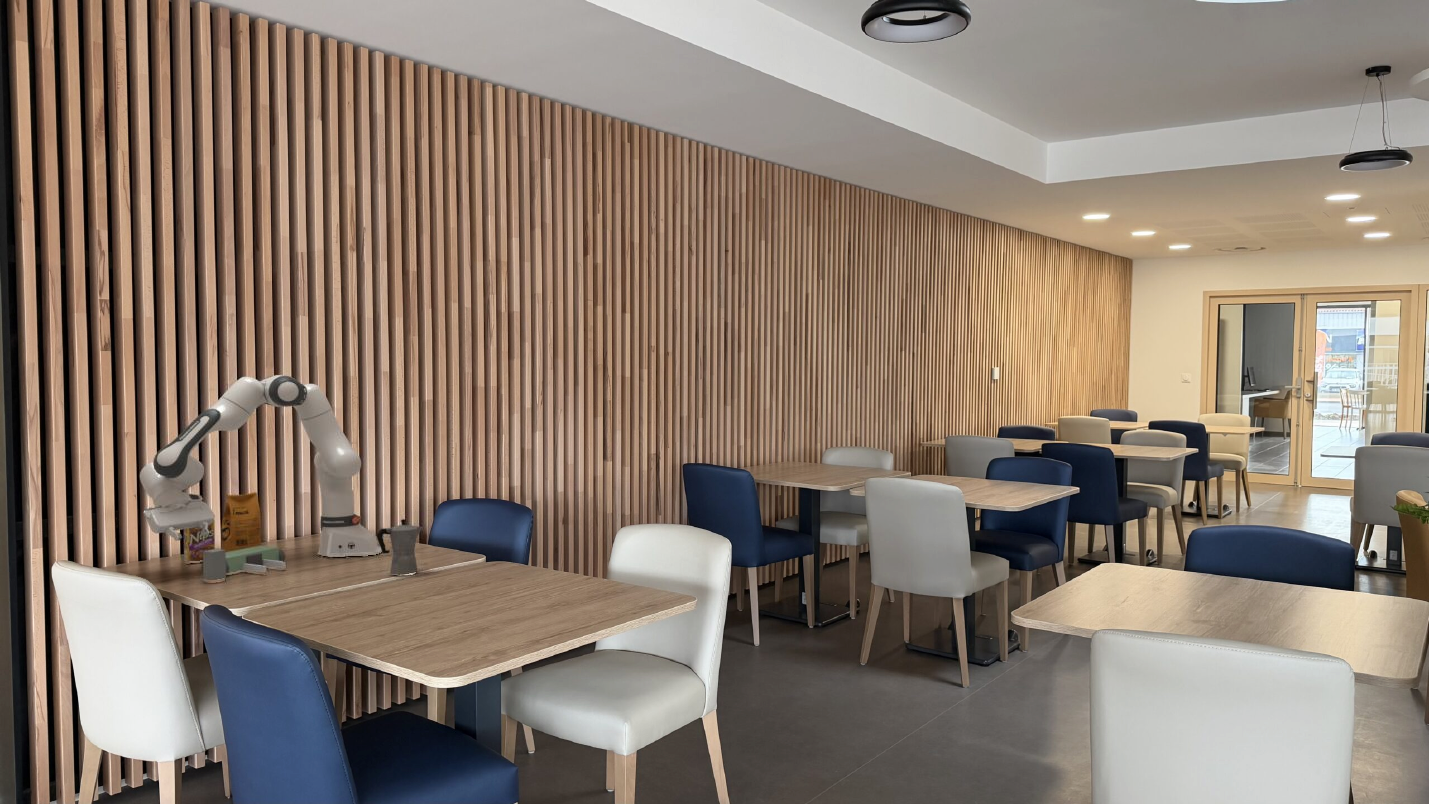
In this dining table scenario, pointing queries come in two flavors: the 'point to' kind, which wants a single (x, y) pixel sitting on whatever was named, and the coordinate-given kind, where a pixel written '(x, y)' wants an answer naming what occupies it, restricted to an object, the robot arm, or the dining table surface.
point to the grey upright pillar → (214, 564)
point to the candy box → (198, 542)
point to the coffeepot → (401, 547)
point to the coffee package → (241, 523)
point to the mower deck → (254, 559)
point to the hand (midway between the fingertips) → (193, 536)
